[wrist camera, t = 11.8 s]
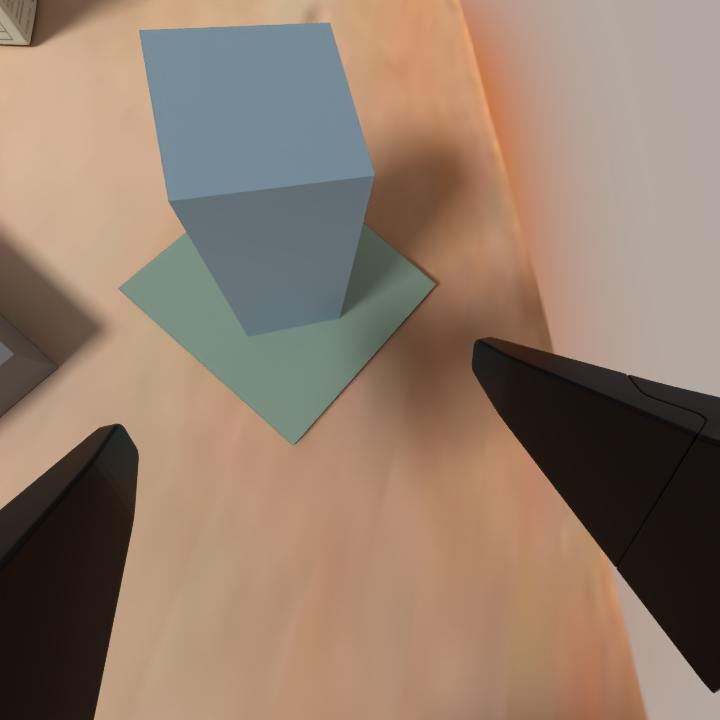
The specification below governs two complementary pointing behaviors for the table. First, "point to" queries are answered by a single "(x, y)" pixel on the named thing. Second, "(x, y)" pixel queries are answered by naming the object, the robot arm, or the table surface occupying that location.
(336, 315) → the tall square blue prism
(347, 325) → the green mat
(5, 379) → the square socket block
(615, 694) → the table surface
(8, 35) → the skincare box
